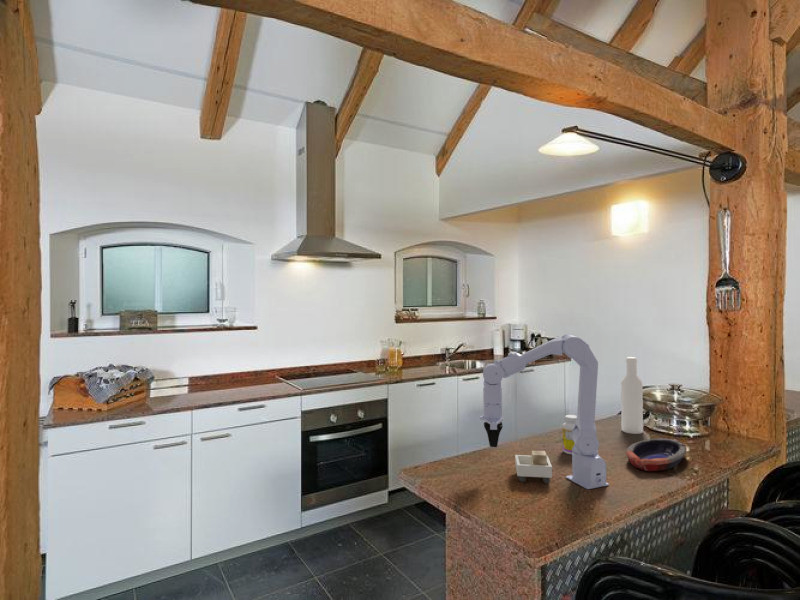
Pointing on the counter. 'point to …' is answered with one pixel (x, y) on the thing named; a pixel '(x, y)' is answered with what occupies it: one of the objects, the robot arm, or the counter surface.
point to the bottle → (632, 400)
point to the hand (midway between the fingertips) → (493, 446)
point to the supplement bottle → (568, 433)
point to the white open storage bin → (532, 468)
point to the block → (539, 458)
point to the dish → (656, 454)
